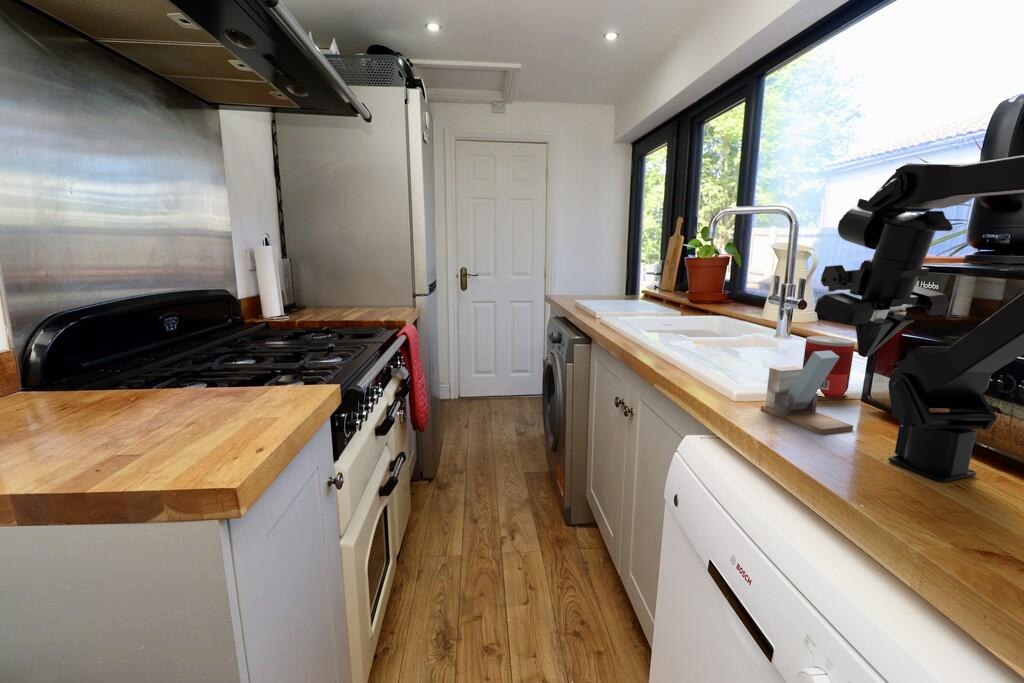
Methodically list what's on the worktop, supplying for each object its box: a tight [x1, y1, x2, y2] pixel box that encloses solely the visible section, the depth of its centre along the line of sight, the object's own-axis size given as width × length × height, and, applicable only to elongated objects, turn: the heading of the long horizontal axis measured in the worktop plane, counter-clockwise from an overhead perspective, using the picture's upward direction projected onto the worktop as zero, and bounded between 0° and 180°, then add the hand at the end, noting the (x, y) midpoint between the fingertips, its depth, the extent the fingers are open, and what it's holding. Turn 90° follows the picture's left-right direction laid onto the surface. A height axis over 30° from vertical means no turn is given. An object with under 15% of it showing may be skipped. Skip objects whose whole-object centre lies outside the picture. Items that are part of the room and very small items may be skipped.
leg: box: [787, 350, 840, 411], centre depth 78 cm, size 2×4×11 cm, turn 106°
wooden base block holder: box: [760, 365, 854, 435], centre depth 78 cm, size 12×6×8 cm, turn 16°
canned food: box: [802, 335, 855, 399], centre depth 93 cm, size 8×8×11 cm
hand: (863, 356), depth 73 cm, fingers closed
